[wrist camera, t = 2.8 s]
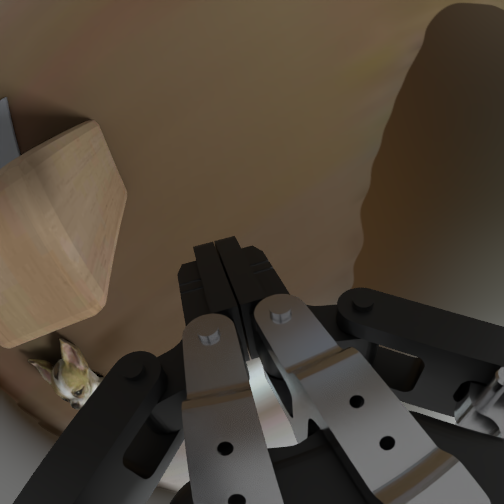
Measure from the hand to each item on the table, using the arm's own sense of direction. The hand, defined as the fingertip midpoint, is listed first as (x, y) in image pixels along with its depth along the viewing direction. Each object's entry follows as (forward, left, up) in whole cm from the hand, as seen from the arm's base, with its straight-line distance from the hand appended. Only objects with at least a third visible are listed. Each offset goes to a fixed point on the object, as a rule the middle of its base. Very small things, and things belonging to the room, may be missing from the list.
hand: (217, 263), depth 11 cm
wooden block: (0, -12, -24) cm, 27 cm away
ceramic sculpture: (+29, -26, -24) cm, 46 cm away
